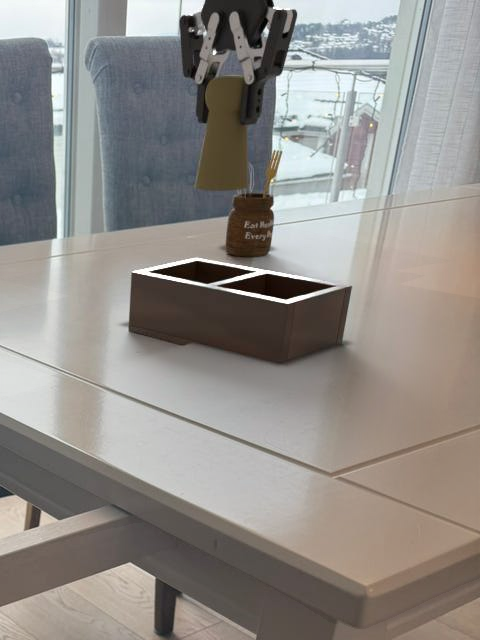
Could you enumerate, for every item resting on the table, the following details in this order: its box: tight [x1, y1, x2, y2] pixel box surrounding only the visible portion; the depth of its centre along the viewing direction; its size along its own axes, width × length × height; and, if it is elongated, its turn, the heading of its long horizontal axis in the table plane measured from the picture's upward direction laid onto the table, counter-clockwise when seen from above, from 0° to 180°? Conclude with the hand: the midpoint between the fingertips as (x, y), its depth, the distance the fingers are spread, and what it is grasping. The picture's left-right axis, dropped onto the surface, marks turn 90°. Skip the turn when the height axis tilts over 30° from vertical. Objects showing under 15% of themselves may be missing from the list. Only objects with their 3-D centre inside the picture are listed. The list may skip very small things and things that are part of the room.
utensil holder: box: [224, 149, 283, 258], centre depth 121 cm, size 6×6×12 cm
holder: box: [127, 257, 353, 364], centre depth 88 cm, size 10×18×6 cm, turn 40°
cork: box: [194, 74, 249, 192], centre depth 104 cm, size 6×6×11 cm
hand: (226, 122), depth 103 cm, fingers closed on cork, 5 cm apart
